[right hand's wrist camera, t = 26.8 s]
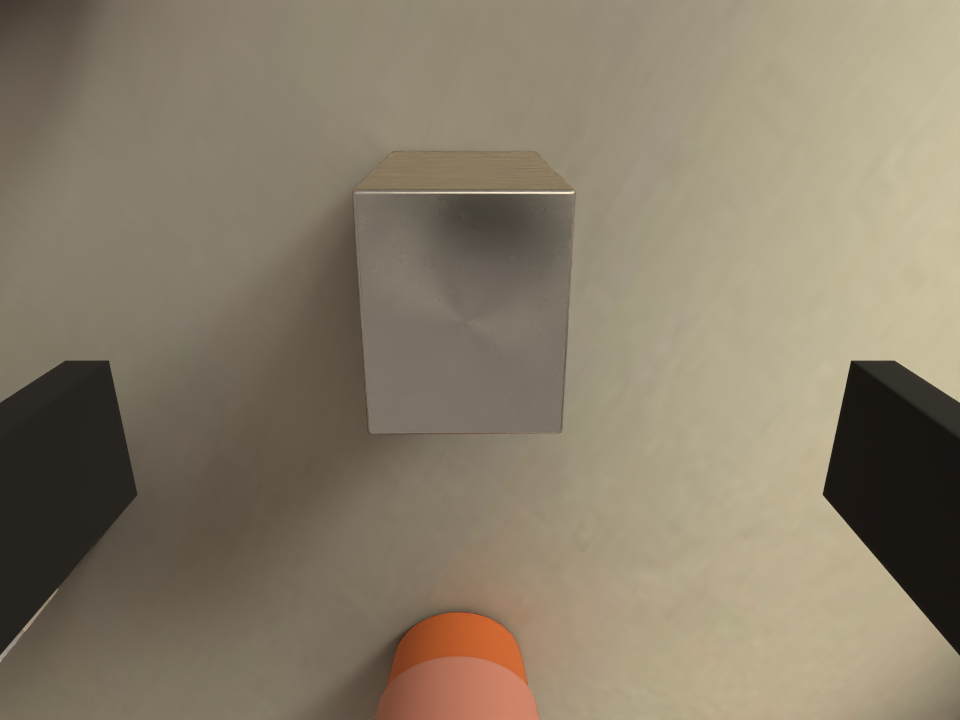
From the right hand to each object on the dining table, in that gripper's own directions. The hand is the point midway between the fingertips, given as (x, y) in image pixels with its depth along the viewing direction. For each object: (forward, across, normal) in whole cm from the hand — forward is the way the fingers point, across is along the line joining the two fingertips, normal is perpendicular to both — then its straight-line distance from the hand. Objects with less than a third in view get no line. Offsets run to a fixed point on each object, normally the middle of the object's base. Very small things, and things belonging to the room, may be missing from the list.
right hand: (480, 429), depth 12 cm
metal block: (+14, -1, 0) cm, 15 cm away
